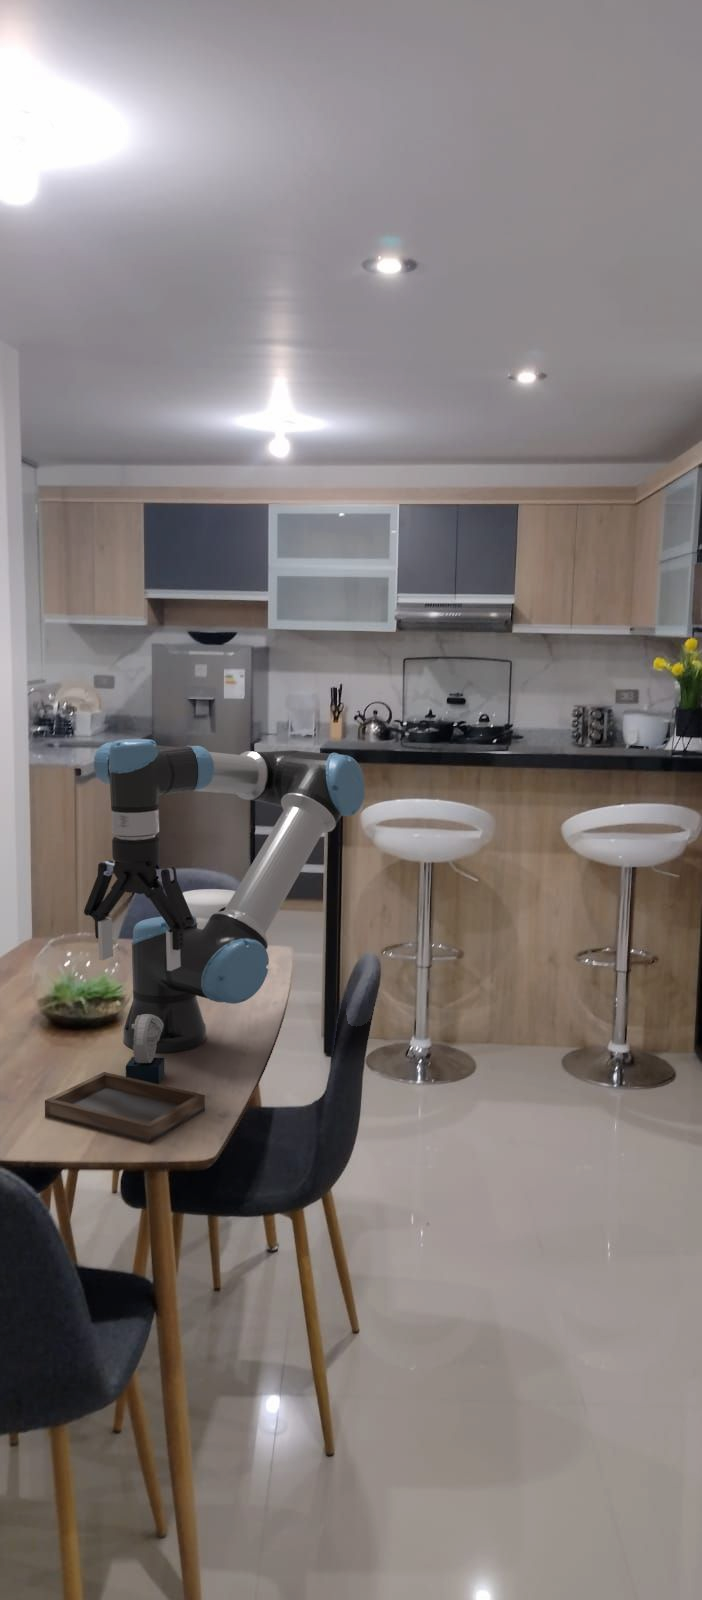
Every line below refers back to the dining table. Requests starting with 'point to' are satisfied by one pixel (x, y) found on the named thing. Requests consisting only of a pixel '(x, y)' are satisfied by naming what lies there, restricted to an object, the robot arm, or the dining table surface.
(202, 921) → the white pedestal bowl
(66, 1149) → the dining table surface
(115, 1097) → the valet tray
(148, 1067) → the watch
